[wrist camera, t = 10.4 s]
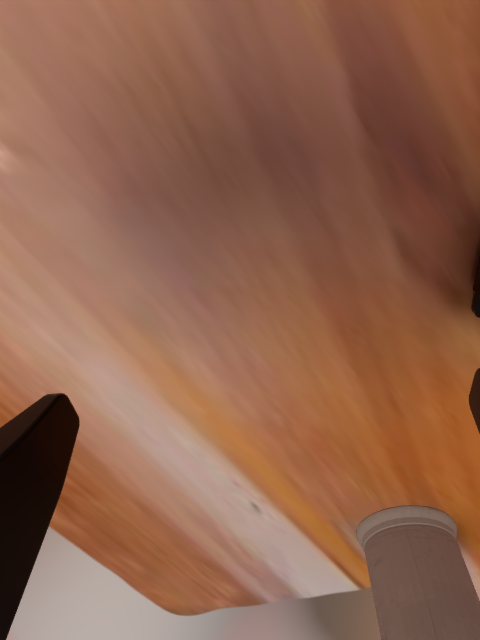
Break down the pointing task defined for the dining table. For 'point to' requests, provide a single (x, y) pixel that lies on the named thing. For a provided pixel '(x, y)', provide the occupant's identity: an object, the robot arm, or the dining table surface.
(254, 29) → the dining table surface
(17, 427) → the robot arm
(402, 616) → the glass holder
